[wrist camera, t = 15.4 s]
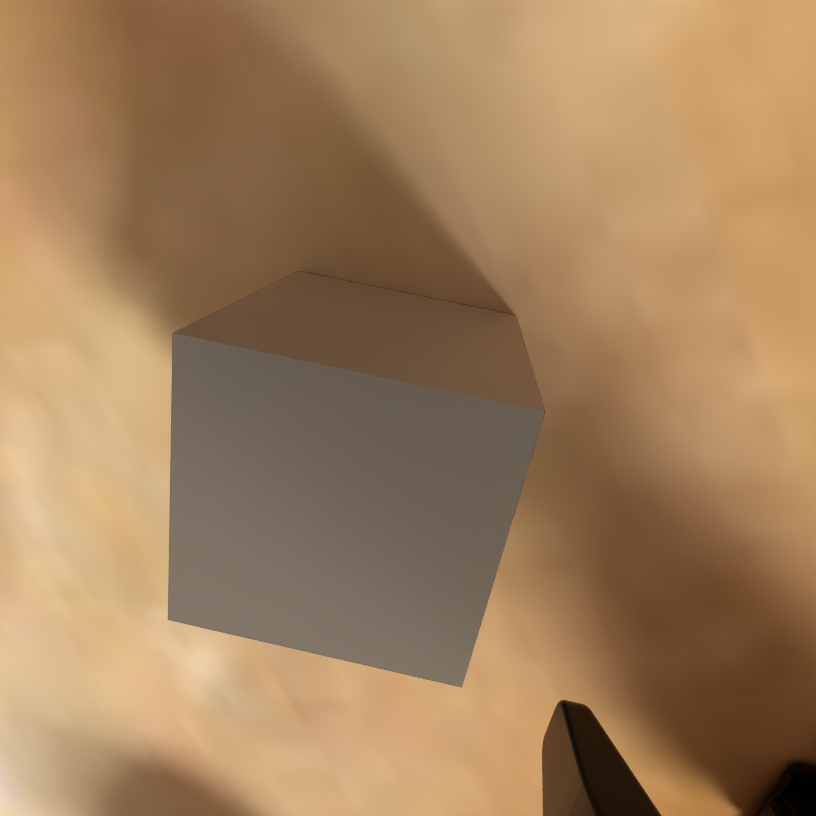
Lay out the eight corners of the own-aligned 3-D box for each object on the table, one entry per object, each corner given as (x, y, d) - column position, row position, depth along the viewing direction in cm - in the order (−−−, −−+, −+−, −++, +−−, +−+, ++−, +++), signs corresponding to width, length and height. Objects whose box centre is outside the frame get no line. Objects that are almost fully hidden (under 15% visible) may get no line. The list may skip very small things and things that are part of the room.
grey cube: (516, 315, 19) (545, 411, 11) (467, 503, 22) (461, 687, 14) (298, 270, 19) (172, 332, 11) (279, 462, 22) (167, 619, 14)
